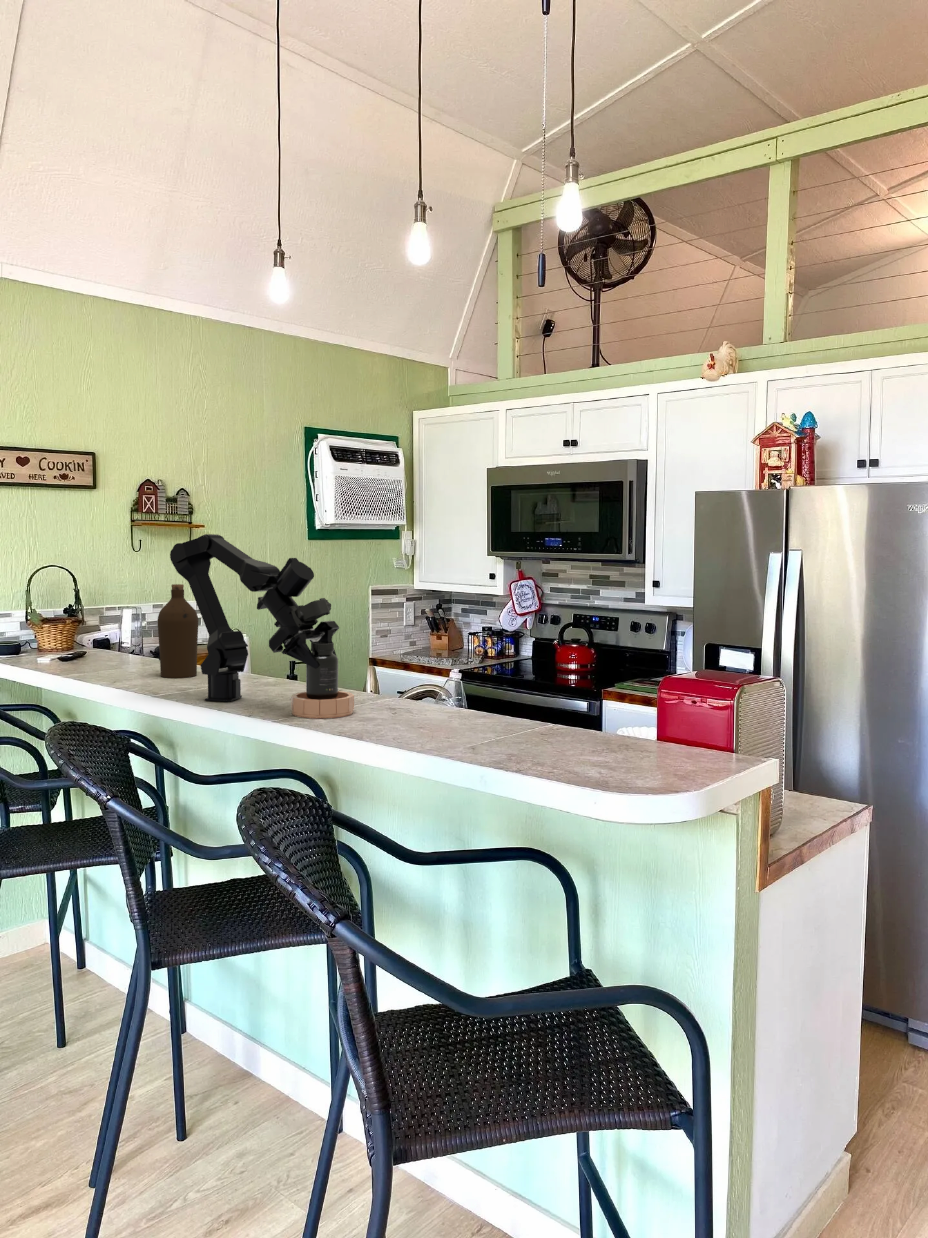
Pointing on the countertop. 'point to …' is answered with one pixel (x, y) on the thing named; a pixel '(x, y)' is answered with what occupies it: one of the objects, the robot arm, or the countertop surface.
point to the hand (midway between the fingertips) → (327, 665)
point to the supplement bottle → (322, 672)
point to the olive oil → (178, 636)
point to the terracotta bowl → (322, 706)
